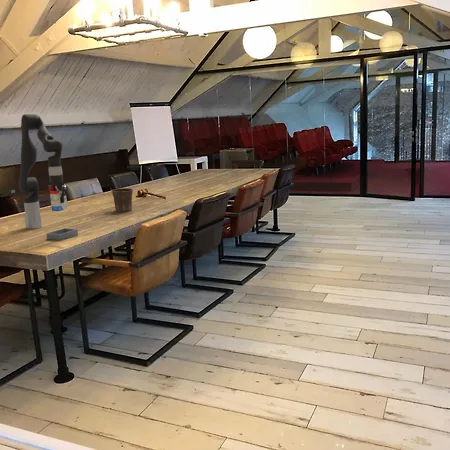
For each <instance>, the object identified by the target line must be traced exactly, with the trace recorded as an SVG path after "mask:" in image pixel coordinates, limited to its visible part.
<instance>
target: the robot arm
mask: <svg viewBox="0 0 450 450" xmlns="http://www.w3.org/2000/svg"><path fill="white" fill-rule="evenodd" d="M20 123H21V124H20V127H21V149H20V172H19V178H18V179H19V180H18V188H19V191H20V192H21V193H29V194H28V195H27V196H25V197H24V198H23V206H24V223H25V228H26V229H27V230H29V229H32V230H34V229H35V230H36V229H40V228H42V217H41V216H42V215H41V209H40V193H39V192H40V191H39V184H38V183H39V181H38V180H37V178H36V177H35V176H32V177H31V176H30V177H29V173H30V171H31V170H32V168H33V167H34V165H35V164H36V162H37V155H38V149H37V147H36V146H35V144H34V142H33V141H32V139H31V137H30V130H31V131H32V130H33V131H34V130H37V133H36V136H37V139H38V140H39V141H40V142H41V144H42V147H43V150H44V152H46V153H54V155H52V156H48V158H47V165H48V176H49V177H48V178H49V183H50V185H47V189H48V190H47V191H48V194H49V196H50V186H52V188H53V191H59V194H60V202H61V203H64V196H66V197H67V193H68V186H67V185H64V184H63V182H64V177H63V176H64V174H63V168H62V162H61V161H62V160H61V157H62V151H63V143H62V141H61V140H60V139H57V138H56V139H54V136H53V135H52V134H51V133H50V132H49V130H48V129H47V127H46V125H45V123H44V121H43V119H42V118H41V116H40V115H39V114H28V113H26V114H22V116H21V120H20ZM60 191H61V192H60ZM64 192H65V194H64ZM61 193H62V195H61Z"/></svg>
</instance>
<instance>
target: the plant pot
mask: <svg viewBox="0 0 450 450" xmlns="http://www.w3.org/2000/svg"><path fill="white" fill-rule="evenodd" d="M133 190H134V188H127V187H126V188H125V187H124V188H123V187H121V188H115V189H112V190H111V193H112V197H113V203H114V208H115V212H120V213H124V212H125V213H126V212H129V211H132V210H133V207H132V205H133V192H134V191H133Z"/></svg>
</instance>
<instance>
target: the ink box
mask: <svg viewBox="0 0 450 450" xmlns="http://www.w3.org/2000/svg"><path fill="white" fill-rule="evenodd" d="M60 192H61V191H60ZM64 194H65V192H64ZM61 195H62V193H61ZM49 196H50V206H51V211H52V212H61V211H65V210H67V209H68V200H67V195H66V196H64V203H61V202H60V194H59V191H53V188H52V186H50V195H49Z"/></svg>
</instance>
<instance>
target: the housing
mask: <svg viewBox="0 0 450 450" xmlns="http://www.w3.org/2000/svg"><path fill="white" fill-rule="evenodd" d="M77 236H79V231H78V229H77V228H68V227H67V228H66V227H65V228H60V229H57V230H53V231H50V232H46V240H50V241H51V240H52V241H59V242H60V241H64V240H67V239H70V238H74V237H77Z"/></svg>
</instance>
